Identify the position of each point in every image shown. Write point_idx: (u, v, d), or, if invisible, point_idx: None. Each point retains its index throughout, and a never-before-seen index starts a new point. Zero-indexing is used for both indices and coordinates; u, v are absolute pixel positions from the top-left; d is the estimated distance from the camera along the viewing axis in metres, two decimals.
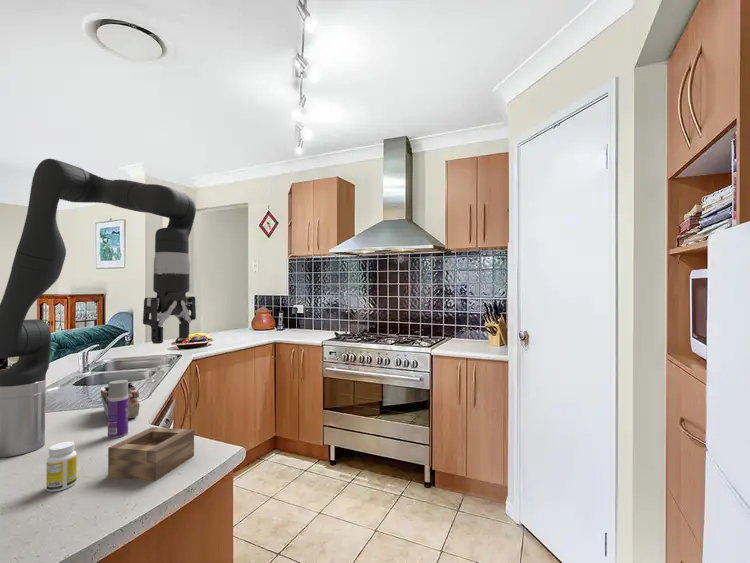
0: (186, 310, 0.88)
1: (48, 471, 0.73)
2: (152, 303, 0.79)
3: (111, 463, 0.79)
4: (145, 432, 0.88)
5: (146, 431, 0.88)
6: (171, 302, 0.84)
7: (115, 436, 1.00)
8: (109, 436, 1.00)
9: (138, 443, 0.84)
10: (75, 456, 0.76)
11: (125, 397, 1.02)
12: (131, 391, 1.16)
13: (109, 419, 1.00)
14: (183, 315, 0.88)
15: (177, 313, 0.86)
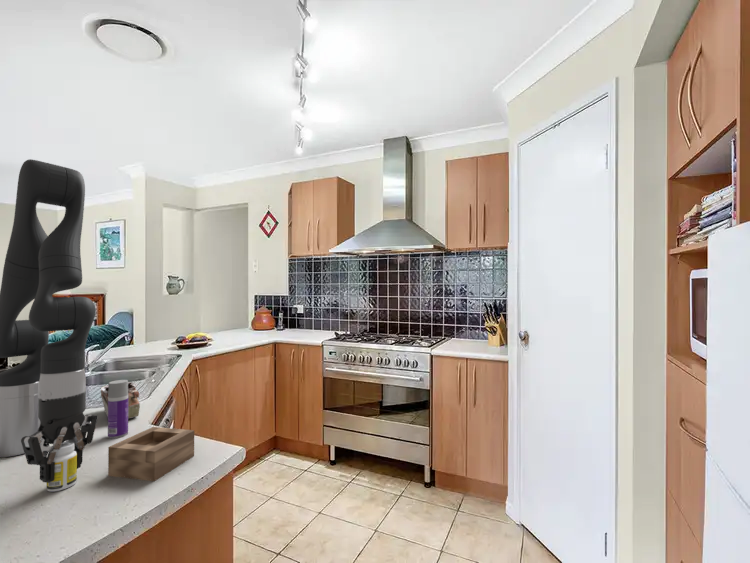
0: (79, 434, 0.77)
1: None
2: (31, 445, 0.69)
3: (111, 462, 0.79)
4: (146, 431, 0.88)
5: (147, 431, 0.88)
6: (58, 431, 0.73)
7: (115, 436, 1.00)
8: (109, 436, 1.00)
9: (138, 443, 0.84)
10: (75, 456, 0.76)
11: (125, 397, 1.02)
12: (131, 391, 1.16)
13: (109, 419, 1.00)
14: (74, 440, 0.77)
15: (66, 438, 0.75)
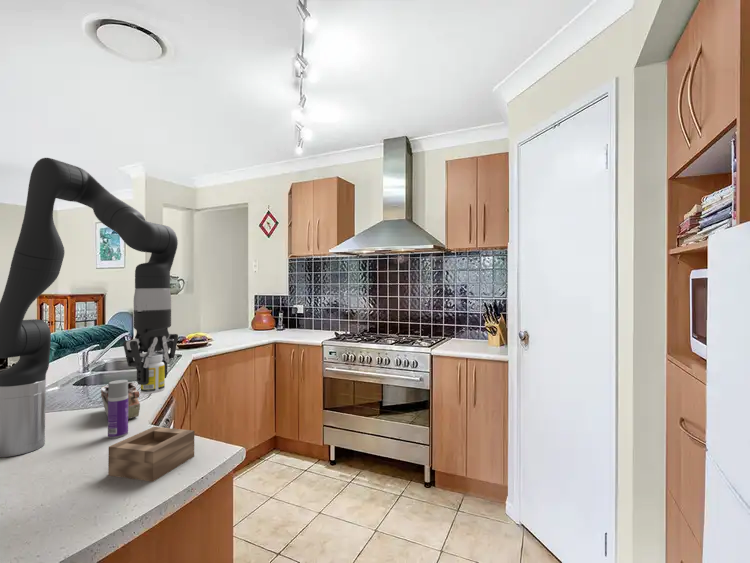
0: (166, 347, 0.86)
1: None
2: (132, 347, 0.78)
3: (111, 462, 0.79)
4: (147, 431, 0.88)
5: (148, 431, 0.88)
6: (151, 340, 0.82)
7: (115, 436, 1.00)
8: (109, 436, 1.00)
9: (139, 443, 0.84)
10: (164, 365, 0.85)
11: (125, 397, 1.02)
12: (131, 391, 1.16)
13: (109, 419, 1.00)
14: (162, 352, 0.86)
15: (156, 348, 0.84)
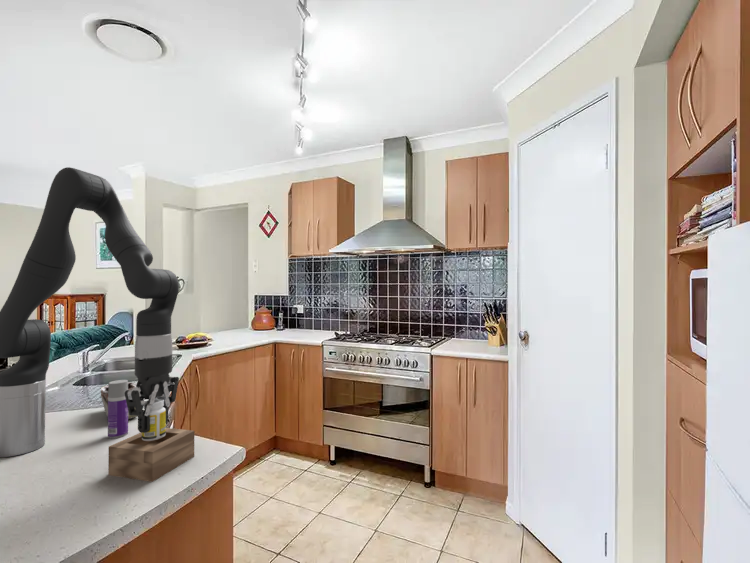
0: (167, 392, 0.86)
1: None
2: (133, 397, 0.78)
3: (111, 462, 0.79)
4: None
5: None
6: (153, 387, 0.82)
7: (115, 436, 1.00)
8: (109, 436, 1.00)
9: (139, 442, 0.84)
10: (165, 411, 0.85)
11: None
12: None
13: (109, 419, 1.00)
14: (163, 398, 0.86)
15: (157, 395, 0.84)
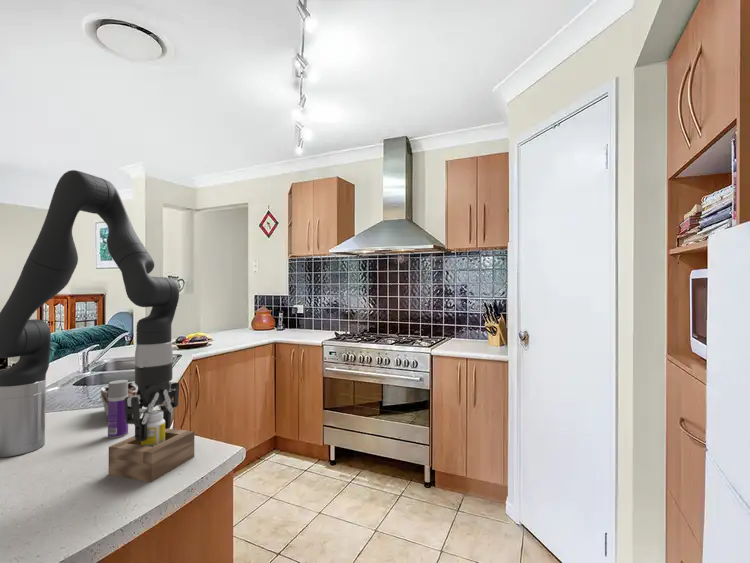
0: (168, 399, 0.86)
1: None
2: (133, 404, 0.77)
3: (111, 462, 0.79)
4: None
5: None
6: (153, 395, 0.82)
7: (115, 436, 1.00)
8: (109, 436, 1.00)
9: (139, 443, 0.84)
10: (164, 423, 0.85)
11: (125, 397, 1.02)
12: (132, 391, 1.16)
13: (109, 419, 1.00)
14: (165, 404, 0.86)
15: (158, 403, 0.84)
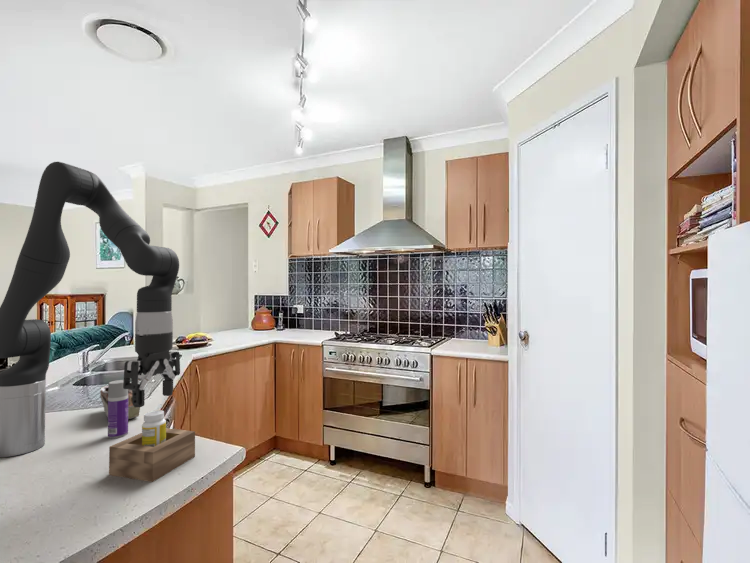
0: (169, 368, 0.87)
1: (144, 435, 0.82)
2: (132, 367, 0.77)
3: (112, 462, 0.79)
4: None
5: None
6: (153, 363, 0.82)
7: (115, 436, 1.00)
8: (109, 436, 1.00)
9: (140, 443, 0.84)
10: (165, 423, 0.85)
11: (125, 397, 1.02)
12: None
13: (109, 419, 1.00)
14: (166, 373, 0.87)
15: (160, 372, 0.85)
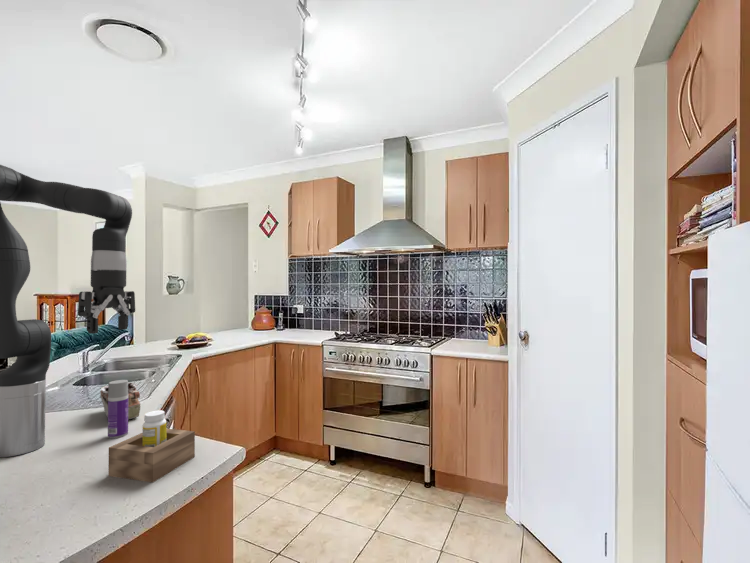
0: (124, 303, 0.97)
1: (144, 435, 0.82)
2: (86, 296, 0.87)
3: (111, 463, 0.79)
4: None
5: None
6: (107, 296, 0.92)
7: (115, 436, 1.00)
8: (109, 436, 1.00)
9: (139, 443, 0.84)
10: (165, 423, 0.85)
11: (125, 397, 1.02)
12: (132, 391, 1.15)
13: (109, 419, 1.00)
14: (121, 308, 0.97)
15: (114, 306, 0.95)
